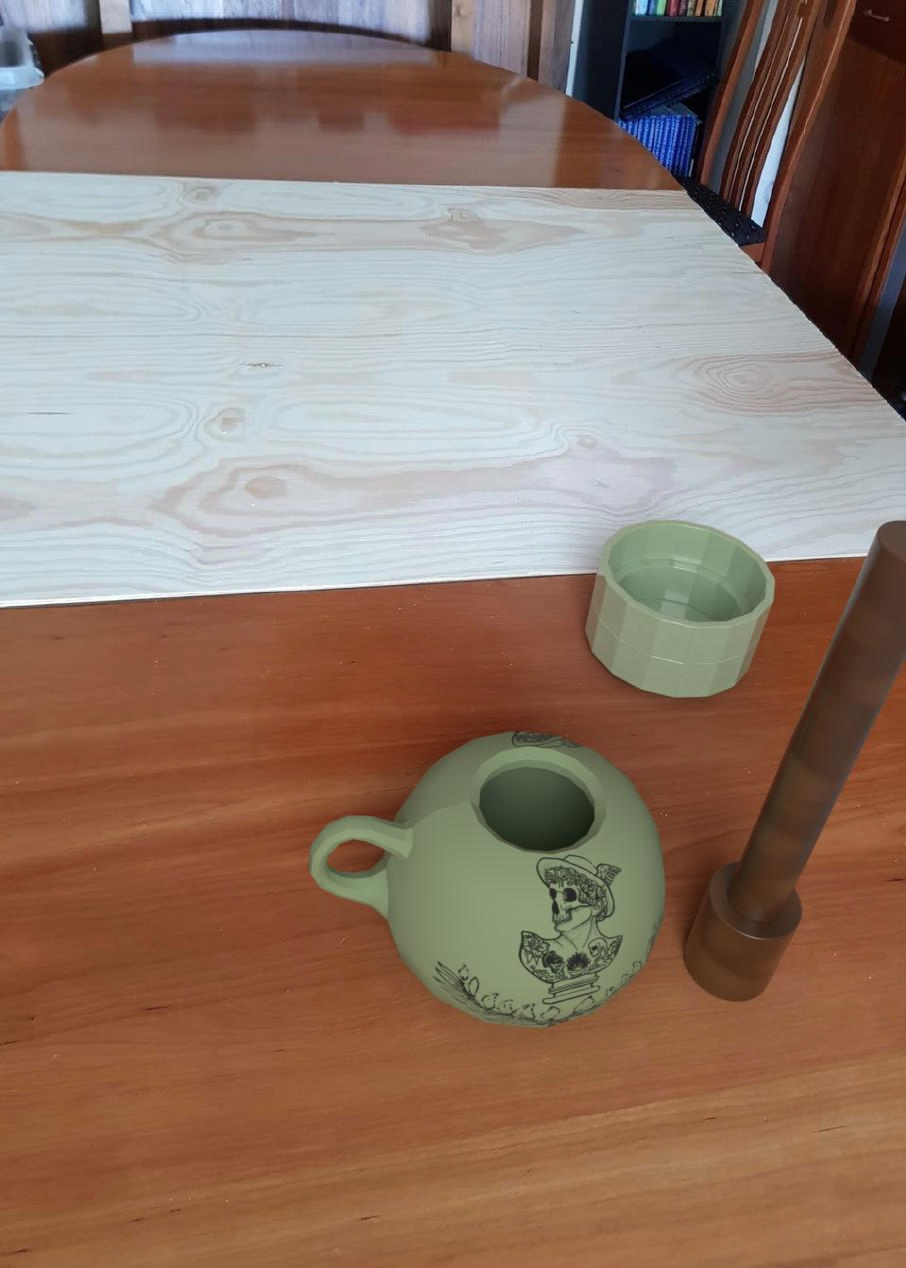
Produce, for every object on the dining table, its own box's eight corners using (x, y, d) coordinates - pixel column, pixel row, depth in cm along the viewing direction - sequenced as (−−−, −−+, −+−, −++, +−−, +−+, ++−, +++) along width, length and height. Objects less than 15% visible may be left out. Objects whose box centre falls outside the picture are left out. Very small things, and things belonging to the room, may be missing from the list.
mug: (614, 803, 55) (647, 684, 50) (686, 1036, 46) (736, 921, 40) (306, 819, 53) (303, 696, 47) (313, 1068, 44) (310, 951, 38)
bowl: (718, 594, 70) (742, 519, 66) (770, 702, 62) (800, 625, 58) (570, 596, 68) (585, 520, 64) (604, 707, 61) (623, 628, 57)
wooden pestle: (754, 922, 51) (946, 504, 35) (783, 999, 48) (1008, 581, 32) (673, 927, 50) (831, 505, 34) (697, 1005, 47) (883, 583, 31)
